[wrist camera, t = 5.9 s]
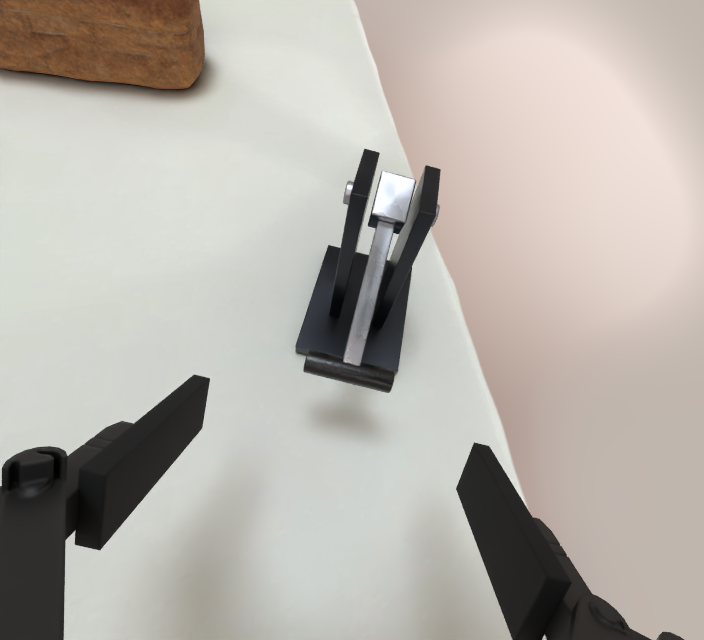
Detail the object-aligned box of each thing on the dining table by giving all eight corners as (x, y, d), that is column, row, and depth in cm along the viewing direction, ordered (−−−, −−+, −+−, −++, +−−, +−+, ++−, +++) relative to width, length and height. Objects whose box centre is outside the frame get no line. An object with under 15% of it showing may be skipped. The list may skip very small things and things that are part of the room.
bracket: (394, 377, 30) (469, 276, 17) (295, 352, 29) (296, 231, 17) (408, 274, 36) (471, 143, 23) (327, 253, 36) (346, 109, 23)
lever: (385, 389, 22) (391, 396, 20) (305, 369, 22) (301, 374, 20) (431, 201, 23) (442, 186, 20) (353, 181, 23) (355, 162, 20)
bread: (8, 25, 47) (-73, -113, 37) (216, 55, 52) (197, -61, 41) (-42, 75, 41) (-159, -77, 30) (202, 104, 45) (174, -19, 35)
